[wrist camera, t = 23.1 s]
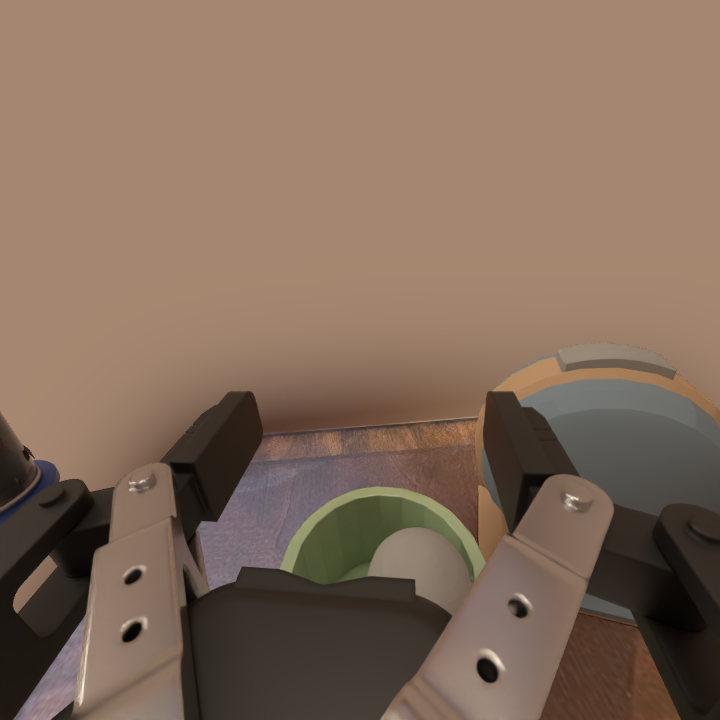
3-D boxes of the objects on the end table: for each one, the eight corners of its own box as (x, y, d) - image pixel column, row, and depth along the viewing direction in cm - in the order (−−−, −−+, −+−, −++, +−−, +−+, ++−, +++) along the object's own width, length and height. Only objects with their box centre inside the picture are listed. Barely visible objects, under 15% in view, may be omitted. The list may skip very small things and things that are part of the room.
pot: (297, 797, 17) (265, 735, 14) (301, 570, 28) (284, 501, 24) (515, 746, 18) (540, 675, 15) (440, 545, 29) (444, 475, 25)
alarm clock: (639, 514, 30) (720, 323, 22) (700, 642, 22) (868, 412, 14) (467, 485, 34) (483, 316, 26) (464, 583, 26) (486, 381, 18)
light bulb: (447, 667, 21) (513, 597, 16) (369, 712, 19) (414, 649, 14) (405, 577, 25) (446, 496, 20) (336, 605, 23) (361, 523, 18)
